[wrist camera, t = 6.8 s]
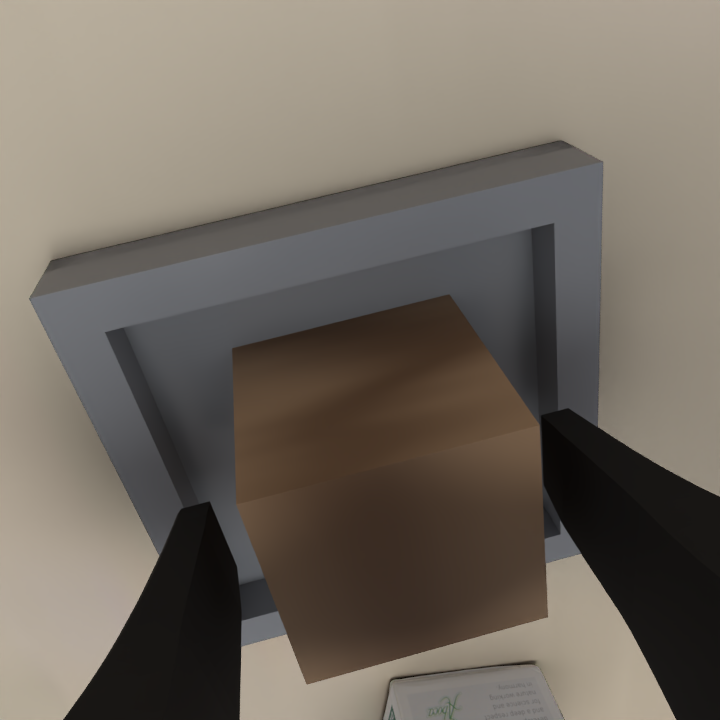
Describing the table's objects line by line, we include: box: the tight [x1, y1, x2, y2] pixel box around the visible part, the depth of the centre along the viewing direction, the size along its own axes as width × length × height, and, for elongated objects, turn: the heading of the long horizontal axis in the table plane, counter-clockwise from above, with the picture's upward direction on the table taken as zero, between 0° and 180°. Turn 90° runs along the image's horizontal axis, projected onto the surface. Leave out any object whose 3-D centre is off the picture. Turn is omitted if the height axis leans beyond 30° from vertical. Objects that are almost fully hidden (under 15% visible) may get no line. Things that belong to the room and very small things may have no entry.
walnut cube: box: [232, 294, 548, 684], centre depth 14 cm, size 5×5×5 cm
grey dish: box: [29, 141, 603, 646], centre depth 16 cm, size 11×11×2 cm
